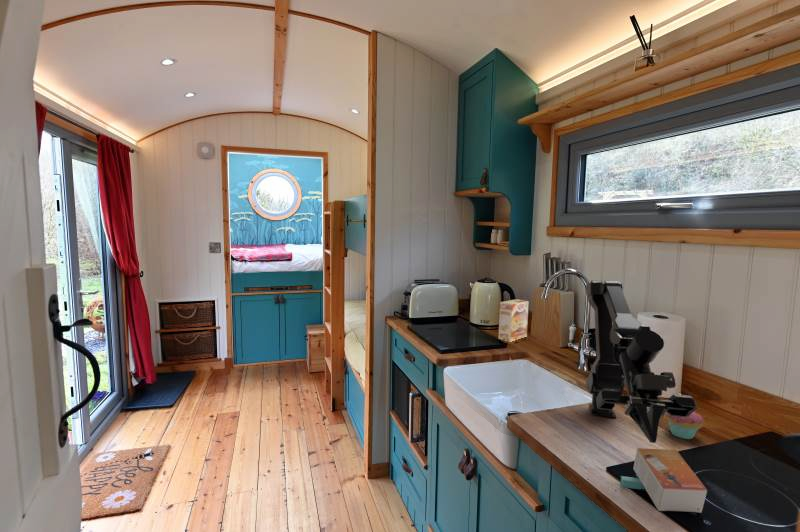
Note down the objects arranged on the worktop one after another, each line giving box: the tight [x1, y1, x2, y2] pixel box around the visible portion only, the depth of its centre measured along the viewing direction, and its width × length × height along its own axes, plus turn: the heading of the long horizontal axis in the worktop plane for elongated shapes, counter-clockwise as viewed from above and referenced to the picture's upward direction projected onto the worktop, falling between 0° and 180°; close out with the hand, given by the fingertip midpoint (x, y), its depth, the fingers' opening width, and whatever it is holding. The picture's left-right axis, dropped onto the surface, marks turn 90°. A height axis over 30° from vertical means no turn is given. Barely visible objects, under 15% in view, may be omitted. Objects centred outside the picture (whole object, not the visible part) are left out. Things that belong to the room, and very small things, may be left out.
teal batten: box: [620, 475, 646, 491], centre depth 83 cm, size 2×12×2 cm, turn 78°
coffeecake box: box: [497, 298, 530, 342], centre depth 194 cm, size 15×7×20 cm, turn 132°
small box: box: [633, 447, 708, 514], centre depth 80 cm, size 8×6×10 cm
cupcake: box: [663, 390, 704, 440], centre depth 106 cm, size 9×8×12 cm
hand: (653, 442), depth 85 cm, fingers closed
